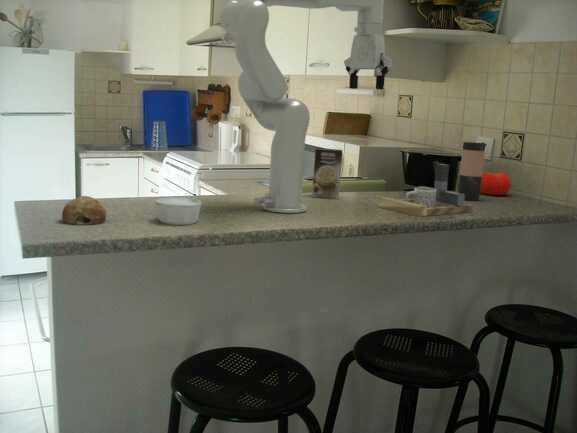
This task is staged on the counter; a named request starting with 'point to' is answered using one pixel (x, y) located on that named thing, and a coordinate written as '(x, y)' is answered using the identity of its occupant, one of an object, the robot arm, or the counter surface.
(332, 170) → the coffee box
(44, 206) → the counter surface
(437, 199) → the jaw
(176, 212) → the ramekin
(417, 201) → the mug
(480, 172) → the travel mug
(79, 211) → the bread roll
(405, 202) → the wooden tray
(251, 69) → the robot arm
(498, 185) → the tomato
